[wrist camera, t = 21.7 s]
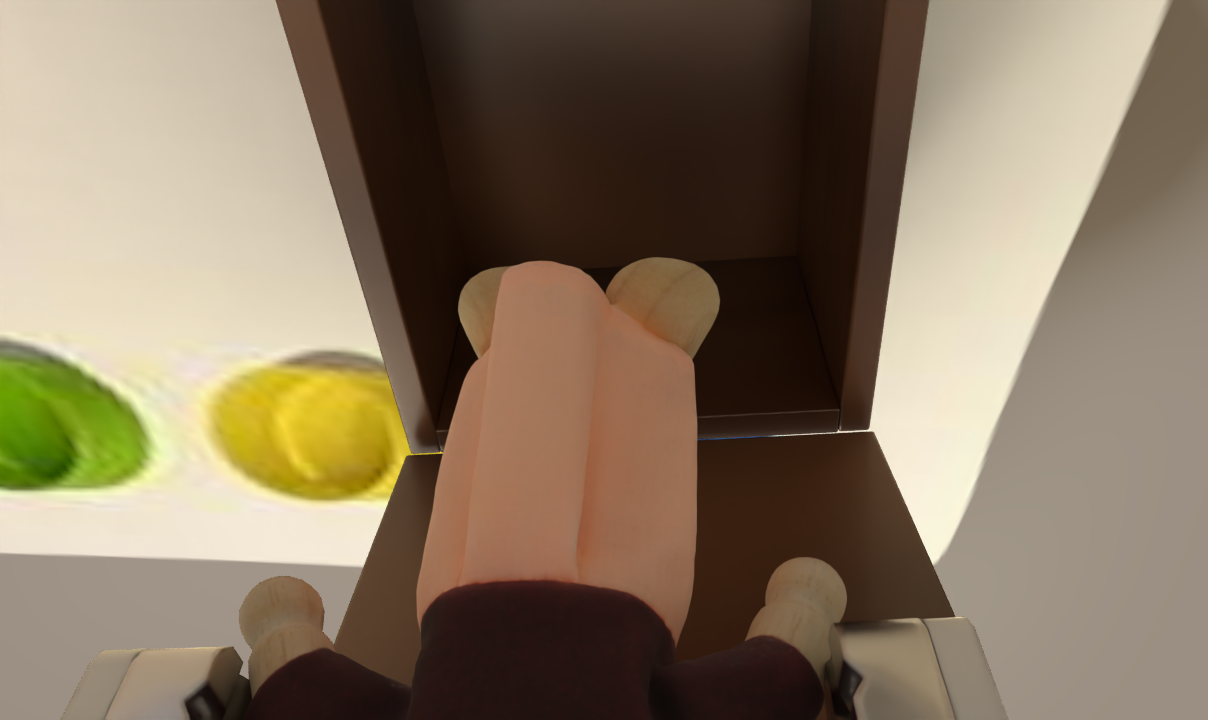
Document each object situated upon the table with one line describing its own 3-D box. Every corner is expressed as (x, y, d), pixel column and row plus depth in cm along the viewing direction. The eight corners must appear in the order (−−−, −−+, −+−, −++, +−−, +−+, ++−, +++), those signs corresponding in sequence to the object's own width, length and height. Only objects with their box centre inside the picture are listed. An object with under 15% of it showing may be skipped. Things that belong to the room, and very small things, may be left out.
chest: (340, -218, 24) (227, -152, 17) (857, -267, 23) (962, -219, 16) (452, 283, 34) (410, 454, 27) (816, 261, 33) (869, 431, 26)
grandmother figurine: (763, 185, 14) (1101, 1432, 4) (787, 369, 17) (1045, 1452, 7) (309, 276, 15) (-225, 1432, 6) (393, 436, 18) (121, 1447, 8)
